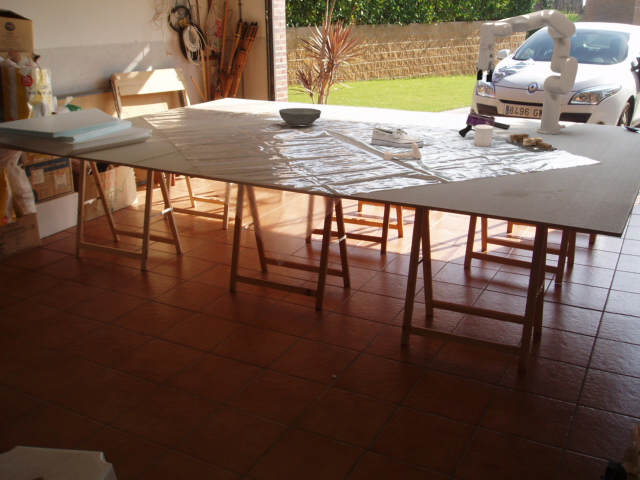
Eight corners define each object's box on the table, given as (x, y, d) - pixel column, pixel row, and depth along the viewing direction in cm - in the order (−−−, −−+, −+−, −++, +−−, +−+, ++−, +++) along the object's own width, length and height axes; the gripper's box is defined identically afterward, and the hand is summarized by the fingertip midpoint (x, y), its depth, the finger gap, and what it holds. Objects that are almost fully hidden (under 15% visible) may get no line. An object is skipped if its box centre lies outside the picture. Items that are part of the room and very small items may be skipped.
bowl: (278, 123, 383) (278, 107, 379) (318, 121, 385) (318, 106, 382) (280, 130, 359) (279, 114, 355) (323, 128, 361) (323, 112, 358)
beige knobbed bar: (386, 168, 288) (380, 149, 285) (420, 155, 286) (415, 136, 283) (387, 170, 285) (381, 151, 281) (422, 157, 283) (416, 138, 279)
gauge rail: (523, 140, 318) (524, 132, 317) (553, 150, 295) (554, 141, 293) (507, 142, 316) (508, 133, 314) (536, 152, 293) (537, 143, 291)
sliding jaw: (538, 143, 306) (539, 136, 305) (542, 144, 303) (542, 137, 302) (522, 144, 303) (523, 138, 302) (525, 145, 301) (526, 139, 299)
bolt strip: (526, 140, 319) (526, 138, 318) (557, 150, 296) (557, 148, 295) (505, 142, 316) (505, 140, 315) (534, 152, 292) (534, 150, 292)
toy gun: (503, 147, 326) (512, 121, 320) (457, 136, 329) (465, 110, 323) (502, 146, 329) (511, 120, 323) (457, 135, 332) (465, 109, 326)
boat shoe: (421, 149, 304) (422, 131, 300) (367, 146, 314) (368, 128, 310) (425, 145, 313) (426, 127, 310) (373, 142, 323) (373, 125, 319)
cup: (481, 147, 305) (483, 128, 301) (468, 144, 313) (470, 125, 310) (495, 145, 309) (497, 126, 306) (482, 142, 317) (484, 124, 314)
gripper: (502, 48, 302) (499, 82, 309) (484, 46, 318) (482, 79, 324) (489, 48, 301) (486, 83, 307) (472, 47, 316) (469, 79, 322)
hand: (484, 81), depth 316 cm, fingers open, 9 cm apart
